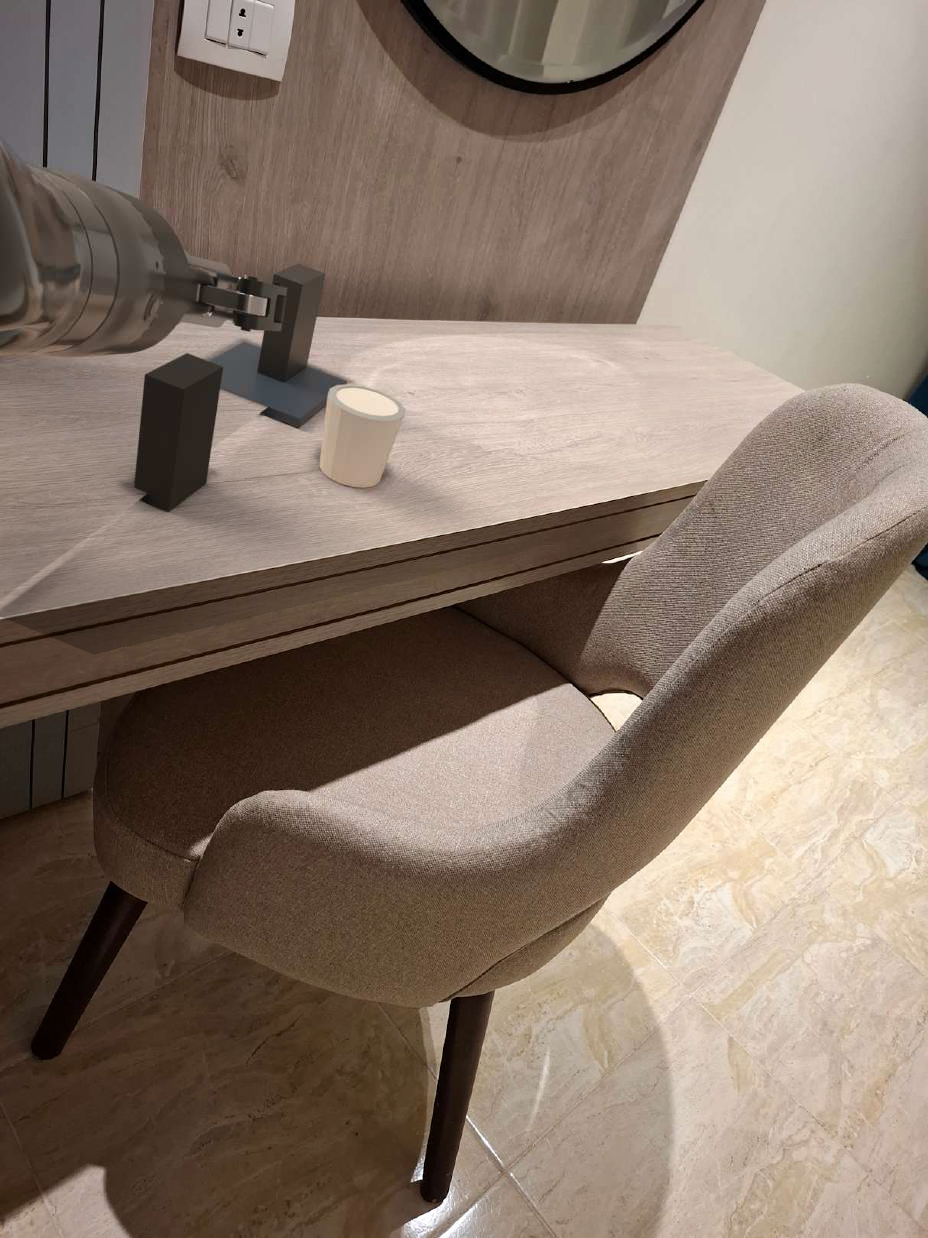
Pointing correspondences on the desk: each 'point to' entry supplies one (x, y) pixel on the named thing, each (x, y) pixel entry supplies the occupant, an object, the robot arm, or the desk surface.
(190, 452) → the block
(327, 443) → the shot glass
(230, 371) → the dock
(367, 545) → the desk surface
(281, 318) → the robot arm
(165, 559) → the desk surface
